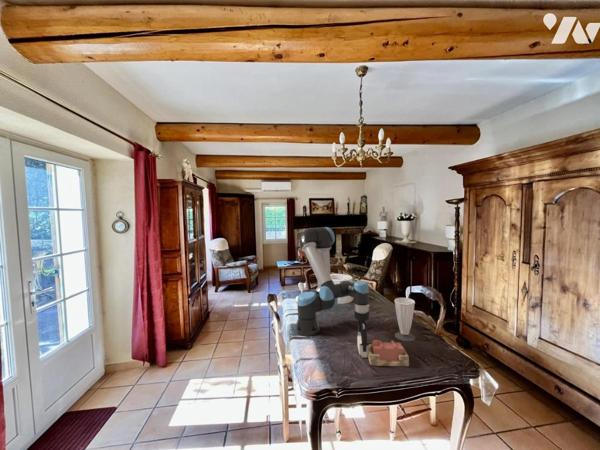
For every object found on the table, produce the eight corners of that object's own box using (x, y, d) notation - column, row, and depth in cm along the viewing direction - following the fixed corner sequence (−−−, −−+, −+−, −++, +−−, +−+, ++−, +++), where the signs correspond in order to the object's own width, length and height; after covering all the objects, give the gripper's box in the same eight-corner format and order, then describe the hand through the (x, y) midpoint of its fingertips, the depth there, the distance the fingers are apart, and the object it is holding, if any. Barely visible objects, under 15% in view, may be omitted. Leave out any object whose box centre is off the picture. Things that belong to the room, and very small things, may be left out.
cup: (391, 332, 160) (391, 297, 159) (410, 332, 160) (410, 297, 159) (398, 341, 149) (398, 304, 148) (418, 341, 148) (418, 304, 147)
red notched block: (374, 360, 128) (374, 343, 128) (372, 353, 134) (371, 337, 134) (403, 360, 127) (403, 344, 127) (400, 354, 133) (399, 338, 133)
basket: (355, 303, 212) (355, 280, 211) (326, 304, 212) (325, 281, 211) (350, 293, 236) (349, 273, 236) (323, 294, 237) (323, 273, 236)
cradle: (370, 365, 126) (370, 355, 126) (366, 353, 137) (366, 344, 137) (409, 367, 125) (409, 356, 124) (402, 354, 136) (402, 345, 135)
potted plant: (306, 313, 193) (305, 280, 191) (293, 311, 199) (292, 278, 197) (314, 308, 203) (313, 276, 202) (301, 305, 209) (300, 274, 208)
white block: (367, 355, 136) (367, 344, 135) (359, 355, 136) (359, 343, 136) (364, 346, 145) (364, 335, 144) (357, 346, 145) (357, 335, 145)
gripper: (373, 320, 127) (374, 363, 127) (365, 303, 151) (365, 338, 152) (357, 320, 127) (358, 363, 128) (352, 303, 152) (352, 338, 153)
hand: (362, 350), depth 140 cm, fingers open, 13 cm apart
